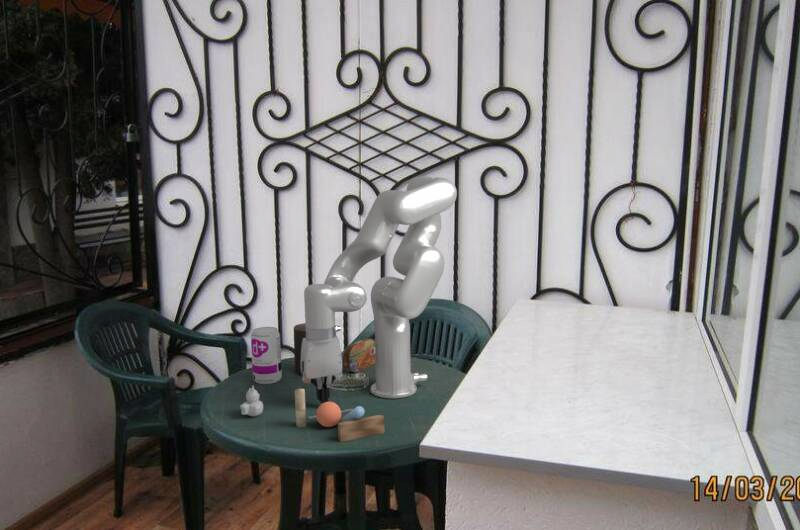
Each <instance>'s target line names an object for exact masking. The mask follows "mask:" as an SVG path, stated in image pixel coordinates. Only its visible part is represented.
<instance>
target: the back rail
mask: <svg viewBox="0 0 800 530" xmlns="http://www.w3.org/2000/svg"><path fill="white" fill-rule="evenodd" d="M385 431H386V430H385V416H384V415H383V414H382V413H381V414H378V415H373V416H367V417H363V418H361V417H360V418H359V419H356V420H351V421H346V422H341V423H340V422H338V423H337V437H338V441H339V442H340V443H342V442H343V443H344V442H349V441H352V440H357V439H362V438H367V437H371V436H377V435H381V434H385V433H386V432H385Z"/></svg>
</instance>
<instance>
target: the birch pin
mask: <svg viewBox="0 0 800 530" xmlns="http://www.w3.org/2000/svg"><path fill="white" fill-rule="evenodd" d="M305 390H306V389H305V388H296V389H295V390H294V405H295V408H294V409H295V426H296V428H300V429H301V428H305V427H306V426H307V415H306V414H307V413H306V412H307V411H306V392H305Z"/></svg>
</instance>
